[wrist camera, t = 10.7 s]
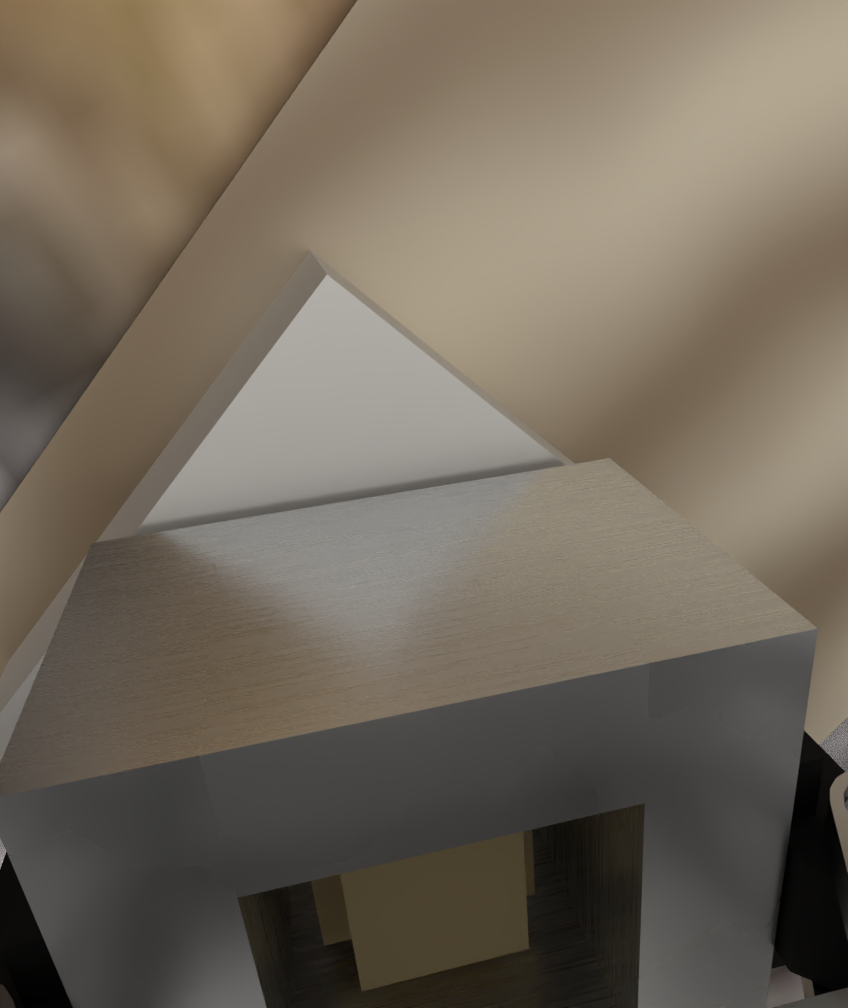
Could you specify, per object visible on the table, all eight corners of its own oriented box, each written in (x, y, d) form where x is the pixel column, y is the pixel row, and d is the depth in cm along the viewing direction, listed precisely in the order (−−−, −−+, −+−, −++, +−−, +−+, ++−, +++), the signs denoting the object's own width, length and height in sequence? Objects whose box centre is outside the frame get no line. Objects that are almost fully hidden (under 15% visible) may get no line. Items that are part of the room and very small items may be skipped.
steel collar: (610, 458, 11) (817, 628, 7) (606, 827, 14) (753, 1099, 10) (91, 543, 10) (-17, 799, 6) (204, 922, 13) (182, 1268, 9)
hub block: (670, 540, 16) (943, 785, 10) (394, 840, 18) (476, 1216, 11) (310, 249, 12) (373, 339, 6) (8, 660, 14) (-186, 1063, 8)
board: (1334, 157, 17) (1425, 157, 16) (557, 930, 22) (576, 979, 21) (922, -812, 10) (1025, -960, 9) (-87, 637, 15) (-120, 684, 14)
